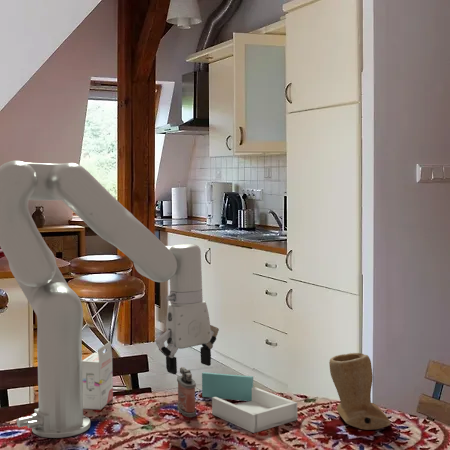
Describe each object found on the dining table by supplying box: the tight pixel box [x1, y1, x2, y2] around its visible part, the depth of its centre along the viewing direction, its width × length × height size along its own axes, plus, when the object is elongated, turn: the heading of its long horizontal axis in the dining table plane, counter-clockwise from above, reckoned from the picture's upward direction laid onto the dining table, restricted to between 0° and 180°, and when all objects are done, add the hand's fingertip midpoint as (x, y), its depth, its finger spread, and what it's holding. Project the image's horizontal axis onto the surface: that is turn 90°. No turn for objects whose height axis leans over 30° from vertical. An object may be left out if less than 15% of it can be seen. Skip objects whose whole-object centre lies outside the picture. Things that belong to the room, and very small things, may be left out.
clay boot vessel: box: [328, 352, 391, 431], centre depth 157 cm, size 15×12×15 cm
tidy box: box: [211, 386, 298, 434], centre depth 159 cm, size 13×15×4 cm
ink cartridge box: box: [82, 341, 114, 410], centre depth 169 cm, size 9×5×15 cm, turn 168°
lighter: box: [176, 366, 197, 418], centre depth 163 cm, size 8×3×10 cm, turn 22°
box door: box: [201, 371, 254, 402], centre depth 172 cm, size 13×1×6 cm, turn 73°
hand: (189, 368), depth 163 cm, fingers open, 9 cm apart
